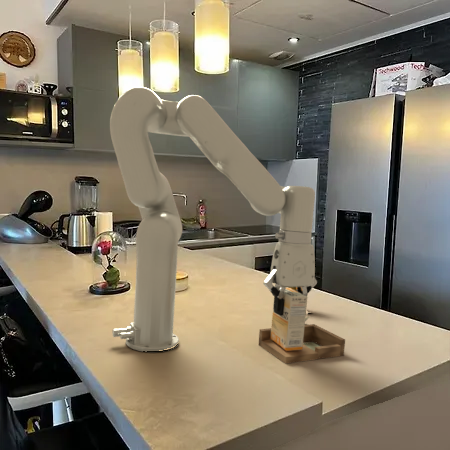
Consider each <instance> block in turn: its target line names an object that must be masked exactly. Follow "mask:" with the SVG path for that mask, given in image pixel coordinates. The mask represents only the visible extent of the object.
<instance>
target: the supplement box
mask: <svg viewBox="0 0 450 450" xmlns="http://www.w3.org/2000/svg"><path fill="white" fill-rule="evenodd" d="M282 298H283V299H284V300H285V301H284V311H283V315H278V314H276V313H275V312H274V308H273V307H274V303H273V304H272V305H273V307H272V317H271V337H270V338H271V339H272V340H273V341H274V342H276V343H277V344H278V345H280V346H281V347H282V348H283V349H285V350H286V351H292V350H302V347H303V343H304V342H303V337H304V327H305V325H306V324H305V323H306V321H305V318H306V317H307V316H306V310H307V306H308V305H307V304H308V295H307V296H305V295H303V294H301V293H299V292H297V291H295V290H293V289H292V288H288V287H286V289H285V292H284V295H283V297H282Z"/></svg>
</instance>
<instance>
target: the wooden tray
mask: <svg viewBox="0 0 450 450" xmlns="http://www.w3.org/2000/svg"><path fill="white" fill-rule="evenodd" d="M270 337H271V328H260V329H259V333H258V343H257V344H258V346H259V347H260V348H262V349H264V350H265V351H267V353H269V354H271V355H272V356H273V357H275V358H277V359H278V360H279V361H281V362H282V363H284V364H293V363H299V362H306V361H307V362H308V361H315V360H322V359H329V358H335V357H342V356H343V357H344V356H345V346H346V338H343V337H341V336H339V335H337V334H335V333H333V332H331V331H329V330H327V329H324V328H323V327H321V326H319V325H317V324H305V327H304V337H303V347H302V350H292V351H286V350H285V349H283V348H282V347H281V346H280V345H278V344H277V343H276V342H274V341H273V340H272V339H271V338H270Z"/></svg>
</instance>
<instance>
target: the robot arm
mask: <svg viewBox="0 0 450 450" xmlns="http://www.w3.org/2000/svg"><path fill="white" fill-rule="evenodd" d="M109 133H110V137H111V138H110V139H111V141H112V142H111V143H112V146H113V149H114V152H115V153H114V154H115V156H116V159H117V163H118V168H119V170H120V174H121V177H122V181H123V183H124V187H125V192H126V195H127V197H128V200H129V201H130V202H131V204H132V205H134V206H135V207H138V210H139V213H140V216H141V219H142V220H141V221H140V223H139V224H138V227H137V229H136V235H135V236H136V237H135V248H136V249H135V250H136V251H135V252H136V267H135V269H136V270H135V289H134V306H133V307H134V308H133V309H134V310H133V321H132V322H130V323H129V326H128V325H127V326H126V327H123V328H122V327H121V328H120V327H119V328H112V338H116V337H117V338H118V337H119V338H120V340H125V344H126V346H127V347H129V349H133V350H134V351H138V352H143V351H145V352H144V353H146V352H147V351H159V350H164V349H167V348H171V347H173V346H175V345H176V344H177V343H178V342H180V339H179V338H180V337H179V336H178V335H176V333H174V319H175V305H176V303H175V302H176V301H175V300H176V291H177V290H176V286H177V273H178V272H177V269H178V246H179V241H180V239H181V238H182V235H183V223H182V220H181V216H180V214H179V210H178V207H177V204H176V201H175V197H174V194H173V191H172V188H171V185H170V182H169V180H168V178H167V177H166V176H165V175H164V174H163V173H161V172H160V169H159V167H158V163H157V161H156V157H155V153H154V149H153V146H152V144H151V143H152V142H151V140H150V137H149V133H153V134H160V135H169V136H176V137H189V138H190V140H192V141H191V142H193V143H194V145H195V146H196V147H197V148H198V149H199V151H201V152H202V154H203V155H204V156H205V157H206V158H207V159H208V161H209V162H210V163H211V164H212V166H213V167H214V168H215V169H216V170H217V171H219V172H220V173H221V174H223V176H225V177H226V178H227V179H228V180H229V181H230V182H231V183H232V184H234V185H233V186H235V187H236V189H237V190H238V191H239V192H240V194H242V195H243V196H244V198H245V199H246V200H247V201H248V202H249V204H250V207H251V208H252V209H253V210H254V211H255V212H256V213H258V214H260V215H263V216H266V217H267V216H268V217H270V216H275V215H277V214H280V222H279V230H278V232H276V233H275V235H274V237H275V239H277V240H278V242H276V244H275V247H274V250H273V255H272V258H271V266H270V273H269V275H268V276H267V277H266V278H265V280H264V281H263V285H264V286H265V287H266V289H268V291H270V293H271V294H272V296H273V304H274V307H272V309H273V308H274V312H275V313H276V314H278V315H283V311H284V301H285V300H284V299H283V298H282V297H283V295H284V292H285V289H286V288H288V287H296V291H297V292H299V293H301V294H303V295H305V296H307V297H308V294H309V293H310V292H311V291H312V289H313V288H314V287H315V286H316V285H317V283H318V280H317V279H316V277H315V275H316V274H315V273H316V267H315V266H316V265H315V264H316V261H315V260H316V257H315V248H314V247H315V246H314V245H313V244H311V242H312V231H313V221H314V220H313V219H314V211H315V210H314V208H315V201H316V200H315V198H316V196H315V195H316V192H315V190H314V188H312V187H310V186H305V185H304V186H303V185H288V186H284V185H283V186H282V185H280V183H279V182H278V181H277V180H276V178H274V177H273V175H272V174H271V173H270V172H269V171H268V169H266V167H265V166H264V165H263V164H262V162H260V161H259V159H257V157H256V156H255V155H254V154H253V153H252V152H251V151H250V150H249V149H248V147H247V146H246V145H245V143H243V142H242V140H241V139H240V138H239V137H238V135H236V134H235V132H234V131H233V130H232V129H231V127H229V125H228V124H227V123H226V122H225V120H224V119H223V118H222V117H221V116H220V115H219V113H218V112H217V111H216V109H215V108H214V107H213V106H211V105H210V103H209V102H208V101H207V100H206V99H205V98H203V97H202V96H200V95H196V94H195V95H194V94H191V95H187V96H185V97H184V98H182V99H181V100H180V101H173V100H164V99H161V98H160V97H159V96H158V95H157V94H156V92H154V91H153V90H151V89H150V88H147V87H144V86H135V87H132V88H129V89H128V90H126V91H125V92H124V93H122V95H120V97H118V99H117V101H115V104H114V106H113V107H112V110H111V114H110V117H109ZM147 353H148V352H147Z"/></svg>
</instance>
